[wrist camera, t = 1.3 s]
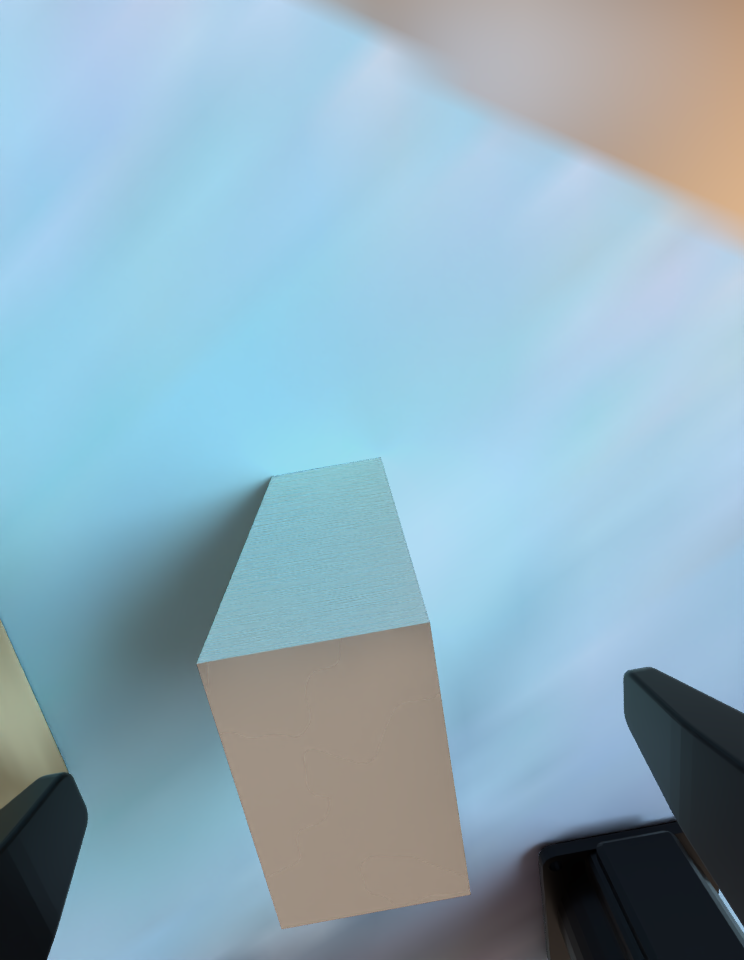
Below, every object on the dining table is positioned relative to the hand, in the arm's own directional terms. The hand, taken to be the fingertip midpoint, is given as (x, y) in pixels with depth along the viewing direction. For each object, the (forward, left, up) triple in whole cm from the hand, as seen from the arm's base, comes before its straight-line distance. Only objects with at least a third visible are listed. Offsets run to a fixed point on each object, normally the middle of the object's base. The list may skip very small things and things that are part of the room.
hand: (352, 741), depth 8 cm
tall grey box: (0, 0, -7) cm, 7 cm away
